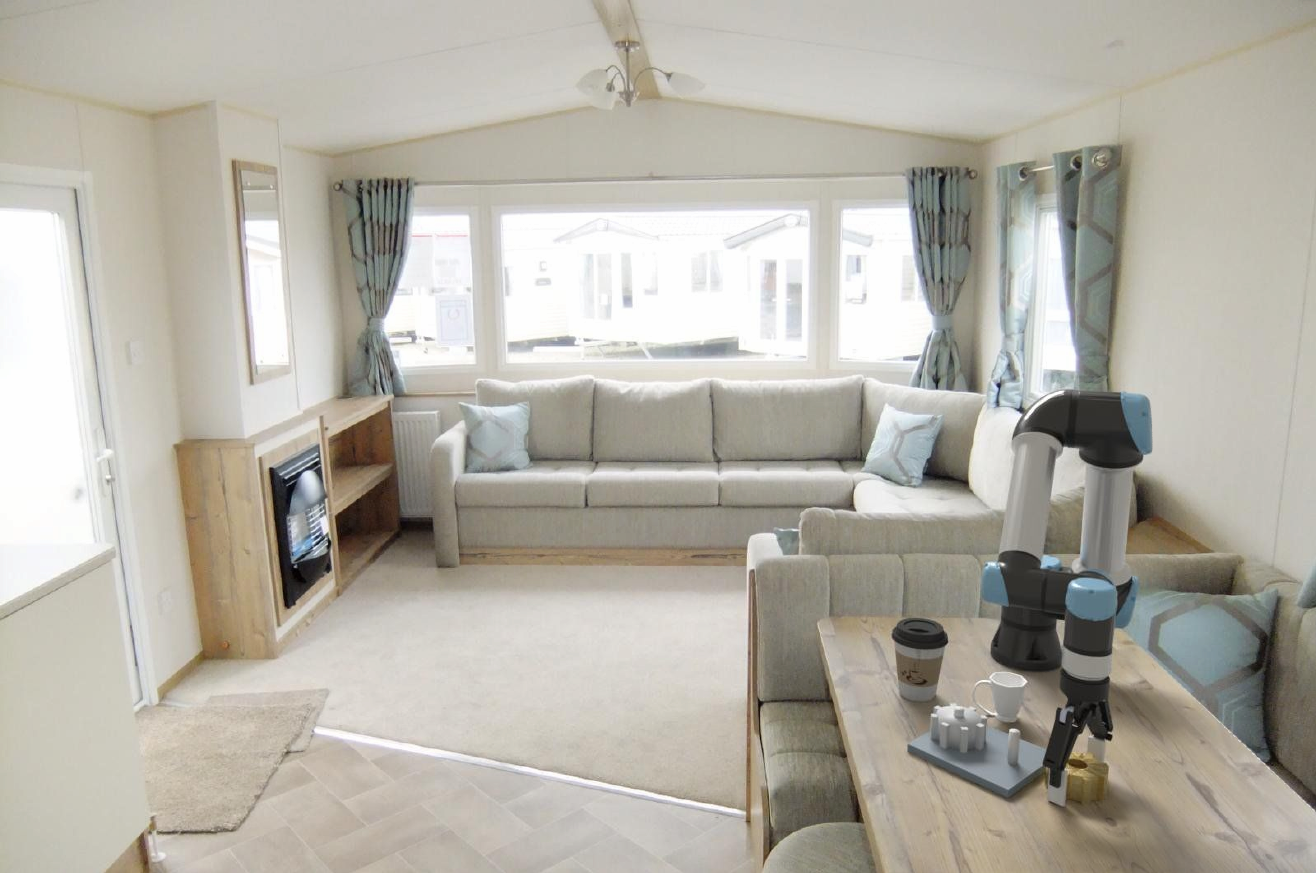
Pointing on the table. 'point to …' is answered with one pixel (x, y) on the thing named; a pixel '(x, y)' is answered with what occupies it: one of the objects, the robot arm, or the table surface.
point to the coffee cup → (919, 657)
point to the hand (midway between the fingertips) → (1075, 787)
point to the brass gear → (1084, 778)
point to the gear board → (979, 750)
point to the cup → (1005, 695)
